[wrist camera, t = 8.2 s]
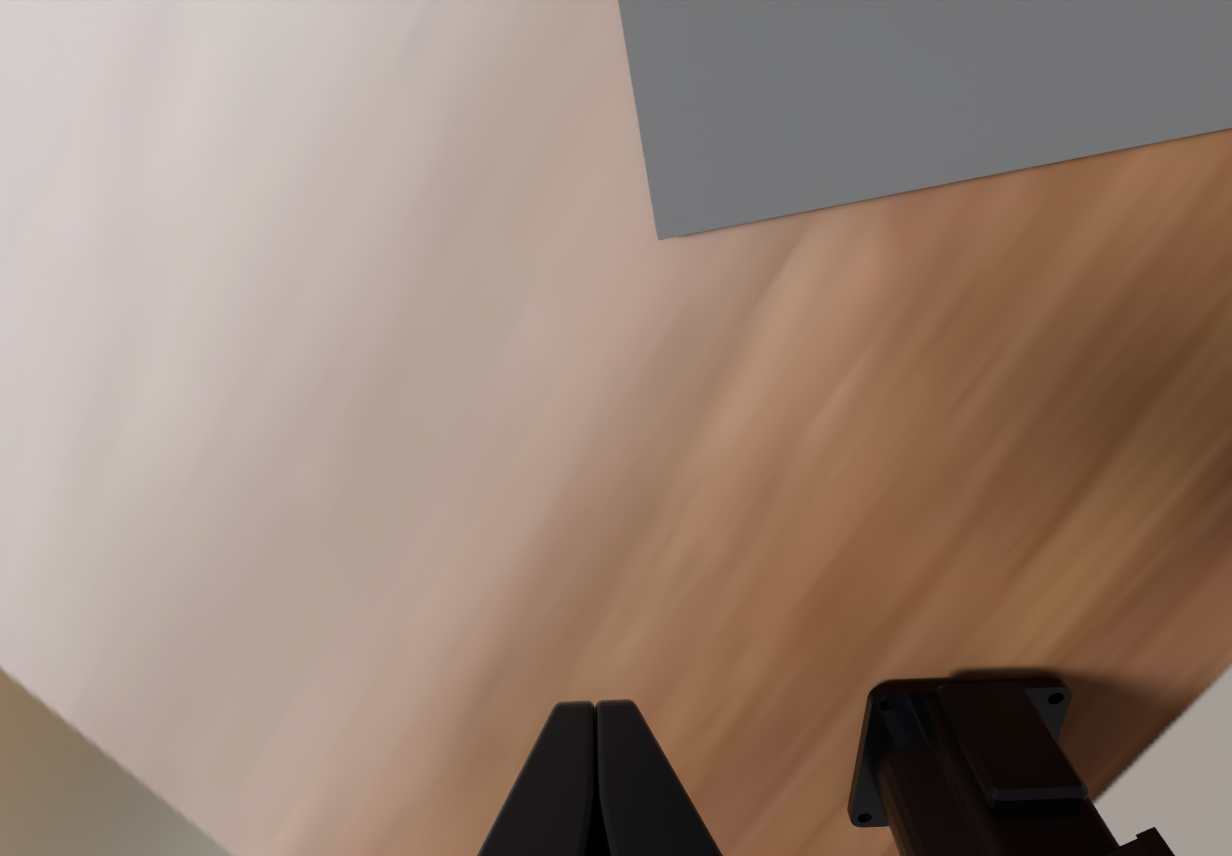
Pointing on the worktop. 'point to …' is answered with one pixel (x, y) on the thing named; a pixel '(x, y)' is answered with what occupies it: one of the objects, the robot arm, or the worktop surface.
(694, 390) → the worktop surface
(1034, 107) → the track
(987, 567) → the worktop surface
